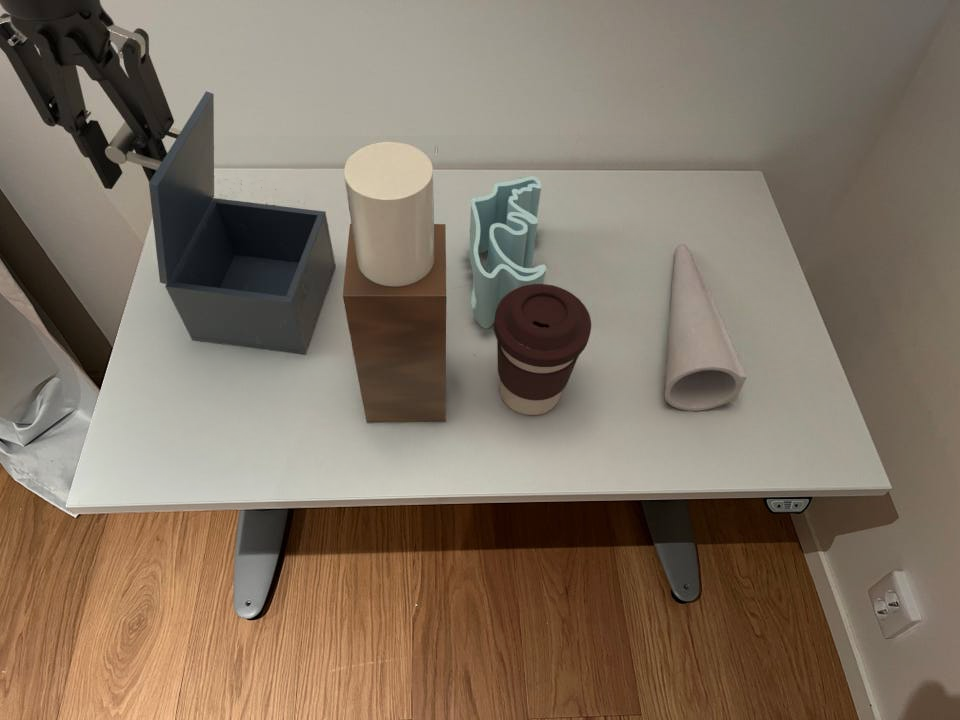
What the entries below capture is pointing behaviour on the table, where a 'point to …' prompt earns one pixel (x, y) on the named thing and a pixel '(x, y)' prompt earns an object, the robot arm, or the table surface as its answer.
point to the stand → (399, 340)
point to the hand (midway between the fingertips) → (138, 183)
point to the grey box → (254, 276)
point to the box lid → (176, 182)
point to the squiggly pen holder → (503, 244)
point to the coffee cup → (538, 345)
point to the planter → (698, 344)
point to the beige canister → (391, 212)
